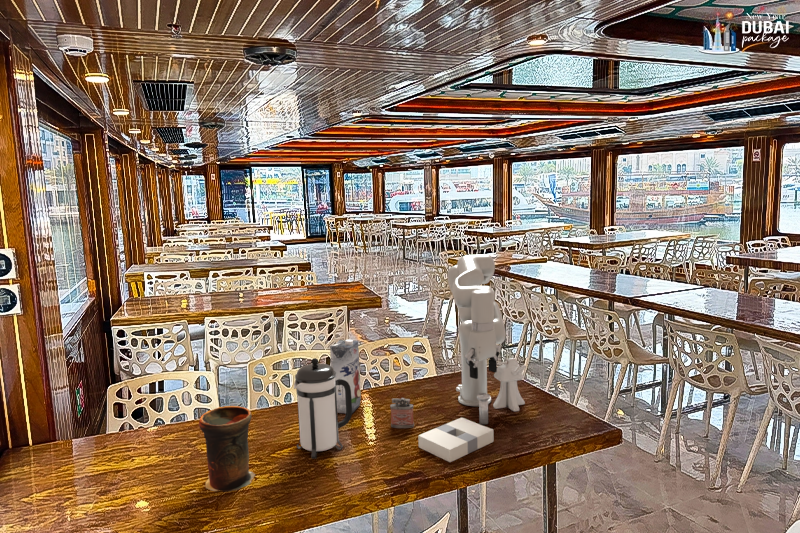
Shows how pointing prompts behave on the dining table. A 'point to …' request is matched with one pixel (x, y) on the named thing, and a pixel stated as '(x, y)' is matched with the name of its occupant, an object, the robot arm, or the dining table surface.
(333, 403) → the coffee press
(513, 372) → the toy gun turret
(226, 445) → the vessel
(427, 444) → the clevis block
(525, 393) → the dining table surface
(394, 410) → the lighter
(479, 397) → the steel pin
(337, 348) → the juice carton
